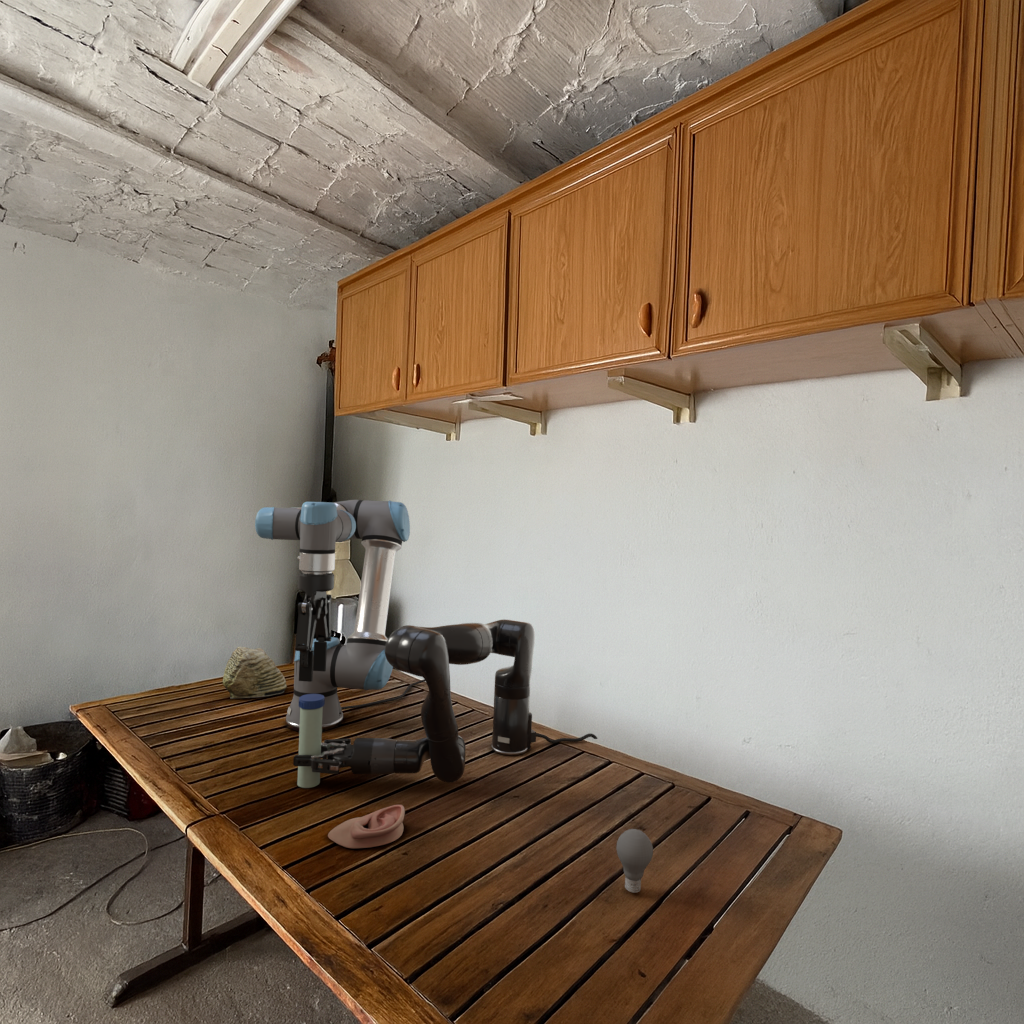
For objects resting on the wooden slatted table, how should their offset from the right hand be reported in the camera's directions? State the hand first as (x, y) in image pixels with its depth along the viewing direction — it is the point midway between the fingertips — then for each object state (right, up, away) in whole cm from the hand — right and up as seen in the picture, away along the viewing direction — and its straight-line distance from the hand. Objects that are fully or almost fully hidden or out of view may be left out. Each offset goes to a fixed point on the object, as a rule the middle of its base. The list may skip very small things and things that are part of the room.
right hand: (298, 754), depth 140 cm
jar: (+2, -6, 0) cm, 7 cm away
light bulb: (+67, -10, -34) cm, 76 cm away
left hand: (+3, +17, 0) cm, 18 cm away
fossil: (-33, -4, +59) cm, 68 cm away
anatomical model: (+20, -8, -20) cm, 29 cm away
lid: (+3, +12, 0) cm, 13 cm away
